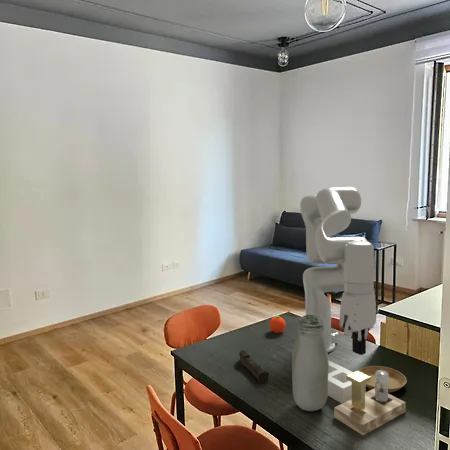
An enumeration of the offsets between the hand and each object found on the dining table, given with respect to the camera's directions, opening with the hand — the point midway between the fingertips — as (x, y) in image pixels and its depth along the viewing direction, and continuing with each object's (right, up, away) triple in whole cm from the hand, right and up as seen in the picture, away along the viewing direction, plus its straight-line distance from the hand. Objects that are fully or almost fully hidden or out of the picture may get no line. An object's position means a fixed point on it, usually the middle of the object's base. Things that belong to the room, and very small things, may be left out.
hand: (359, 352), depth 117 cm
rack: (-2, -17, +19) cm, 25 cm away
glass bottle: (-12, -19, +9) cm, 24 cm away
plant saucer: (+14, -17, +21) cm, 30 cm away
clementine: (-14, -11, +65) cm, 68 cm away
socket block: (+4, -19, +4) cm, 20 cm away
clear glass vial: (+9, -18, +7) cm, 21 cm away
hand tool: (-28, -16, +32) cm, 46 cm away
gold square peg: (0, -15, +1) cm, 15 cm away
